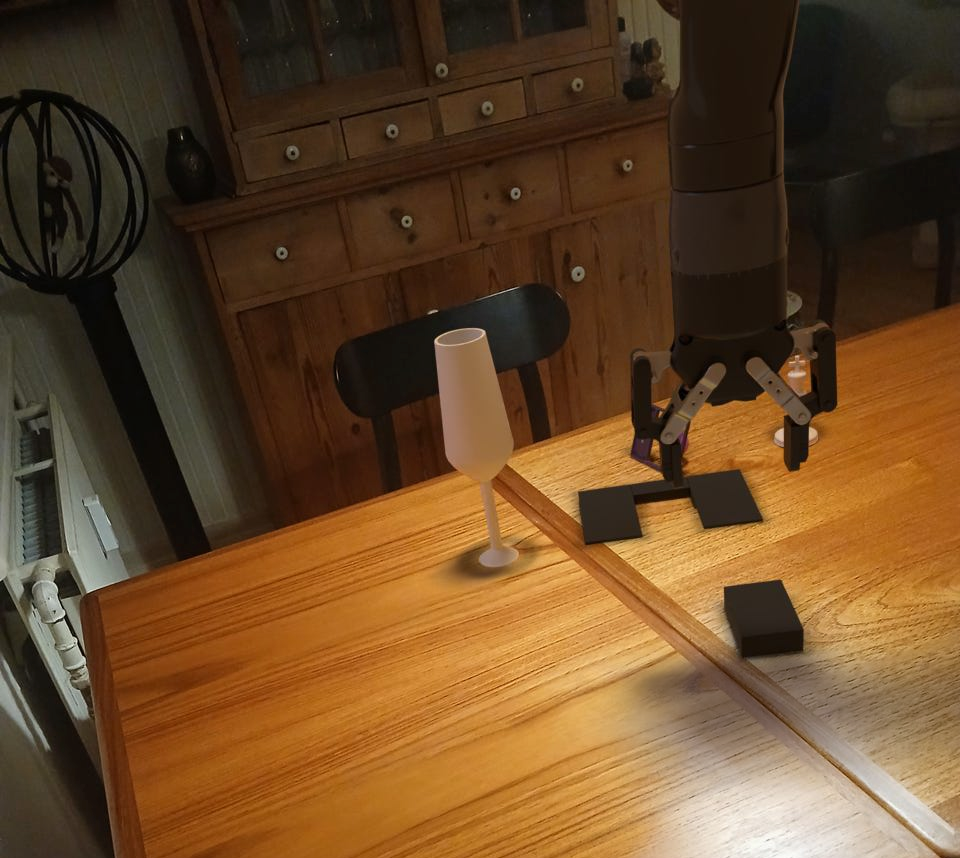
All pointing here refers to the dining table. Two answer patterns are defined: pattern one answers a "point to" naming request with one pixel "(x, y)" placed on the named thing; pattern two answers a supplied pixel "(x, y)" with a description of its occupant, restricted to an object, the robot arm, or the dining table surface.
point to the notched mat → (711, 494)
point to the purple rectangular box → (644, 447)
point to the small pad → (763, 619)
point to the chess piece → (796, 384)
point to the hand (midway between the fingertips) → (733, 475)
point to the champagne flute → (475, 422)
